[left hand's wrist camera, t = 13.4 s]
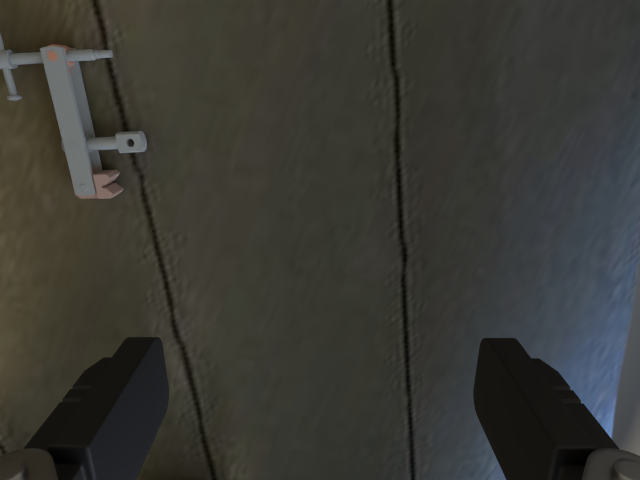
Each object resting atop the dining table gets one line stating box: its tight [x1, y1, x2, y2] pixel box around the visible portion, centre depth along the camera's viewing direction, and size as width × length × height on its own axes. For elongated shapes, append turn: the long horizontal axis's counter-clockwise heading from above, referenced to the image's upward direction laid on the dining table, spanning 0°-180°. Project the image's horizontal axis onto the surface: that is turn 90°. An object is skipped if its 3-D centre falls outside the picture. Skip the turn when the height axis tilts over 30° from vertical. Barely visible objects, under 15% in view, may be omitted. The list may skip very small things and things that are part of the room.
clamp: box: [0, 33, 147, 199], centre depth 35 cm, size 15×2×10 cm
